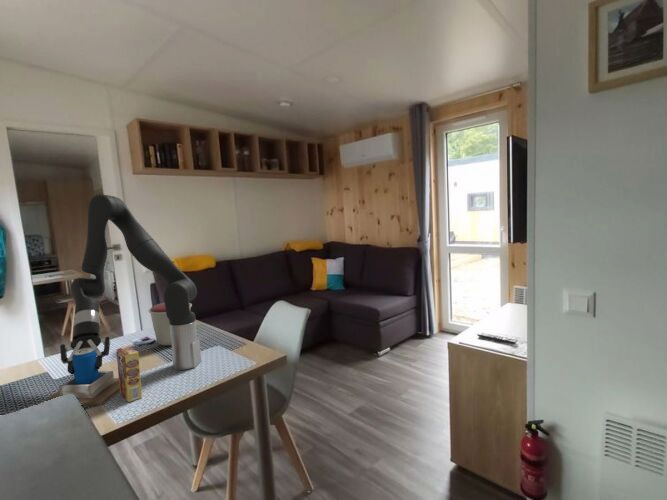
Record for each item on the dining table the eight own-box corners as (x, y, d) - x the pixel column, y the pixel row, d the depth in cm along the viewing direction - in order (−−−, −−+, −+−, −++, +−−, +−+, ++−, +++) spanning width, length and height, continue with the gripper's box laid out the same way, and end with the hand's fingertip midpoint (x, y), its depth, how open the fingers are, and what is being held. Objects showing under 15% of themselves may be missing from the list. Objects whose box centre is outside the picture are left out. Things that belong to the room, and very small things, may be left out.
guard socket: (133, 380, 120) (131, 366, 120) (101, 405, 104) (99, 390, 104) (78, 381, 121) (76, 368, 120) (38, 407, 105) (36, 391, 104)
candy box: (143, 397, 108) (138, 351, 107) (128, 403, 105) (123, 356, 104) (134, 388, 114) (129, 345, 113) (119, 393, 111) (115, 349, 110)
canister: (156, 338, 164) (152, 295, 162) (196, 332, 169) (192, 291, 167) (147, 351, 147) (143, 304, 144) (192, 345, 152) (188, 299, 150)
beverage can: (96, 378, 117) (92, 345, 116) (102, 384, 113) (98, 349, 112) (73, 386, 112) (69, 351, 111) (78, 392, 108) (74, 356, 107)
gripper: (58, 324, 114) (54, 371, 104) (109, 316, 120) (109, 360, 111) (63, 334, 119) (60, 380, 110) (112, 327, 126) (112, 369, 116)
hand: (85, 370), depth 111 cm, fingers closed on beverage can, 6 cm apart
